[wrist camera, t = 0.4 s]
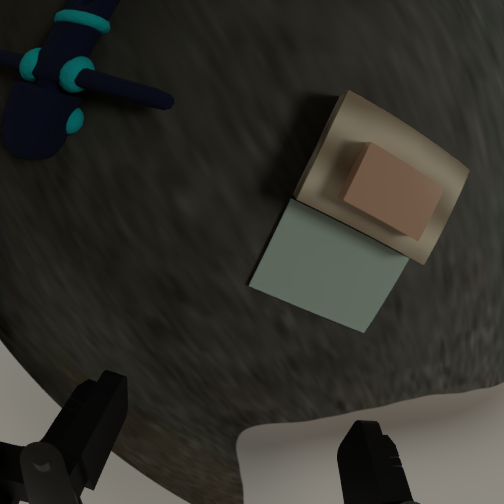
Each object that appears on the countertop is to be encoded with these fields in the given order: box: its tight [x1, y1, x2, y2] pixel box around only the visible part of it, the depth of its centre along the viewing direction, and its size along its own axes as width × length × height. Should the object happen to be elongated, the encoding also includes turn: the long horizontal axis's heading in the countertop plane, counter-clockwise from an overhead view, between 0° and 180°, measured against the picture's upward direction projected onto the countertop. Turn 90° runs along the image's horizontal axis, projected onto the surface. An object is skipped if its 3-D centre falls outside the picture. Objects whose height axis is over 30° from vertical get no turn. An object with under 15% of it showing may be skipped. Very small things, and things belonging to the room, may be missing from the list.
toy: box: [0, 0, 174, 160], centre depth 26 cm, size 31×8×30 cm
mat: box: [249, 198, 409, 333], centre depth 37 cm, size 11×16×1 cm
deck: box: [293, 90, 470, 265], centre depth 31 cm, size 12×16×4 cm
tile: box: [338, 142, 444, 241], centre depth 29 cm, size 6×9×2 cm, turn 66°
